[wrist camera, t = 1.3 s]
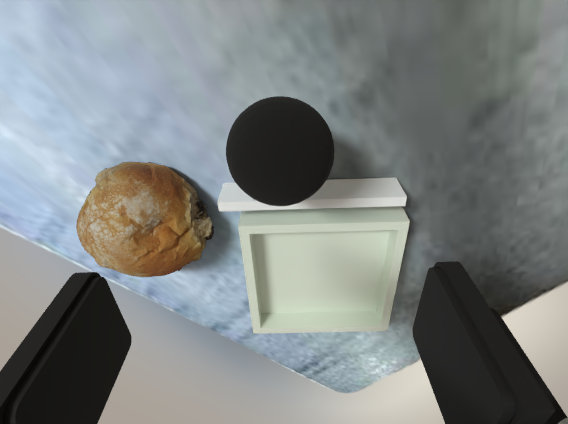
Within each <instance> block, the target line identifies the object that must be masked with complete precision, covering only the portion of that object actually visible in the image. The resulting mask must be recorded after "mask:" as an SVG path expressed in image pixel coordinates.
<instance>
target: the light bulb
mask: <svg viewBox="0 0 568 424" xmlns="http://www.w3.org/2000/svg"><path fill="white" fill-rule="evenodd" d="M226 157H227V163H228V166H229V170H230V173H231V175H232V177H233V179H234V181H235V182H236V184H237V185H238V186H239V188H240V189H242V190H243V191H244V192H245V193H246V194H247V195H249V196H250V197H251V198H253V199H254V200H256V201H258V202H261V203H264V204H267V205H270V206H289V205H293V204H297V203H300V202H302V201H304V200H306V199H308V198H309V197H311V196H312V195H314V194H315V193H316V192H317V191H318V190H319V189H320V188H321V187H322V186H323V184H324V183H325V181H326V180H327V178H328V176H329V174H330V171H331V168H332V165H333V160H334V144H333V139H332V134H331V132H330V129H329V127H328V125H327V123H326V122H325V120H324V119H323V118H322V116H321V115H320V114H319V113H318V112H317V111H316V110H315V109H314V108H312V107H311V106H310V105H308V104H306V103H304V102H303V101H300V100H298V99H294V98H290V97H282V96H281V97H270V98H266V99H263V100H260V101H258V102H256V103H254V104H252V105H251V106H249V107H248V108H247V109H246V110H245V111H243V112H242V113H241V114H240V115H239V117H238V118H237V119H236V120H235V122H234V124H233V125H232V128H231V130H230V133H229V136H228V140H227V146H226Z"/></svg>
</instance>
